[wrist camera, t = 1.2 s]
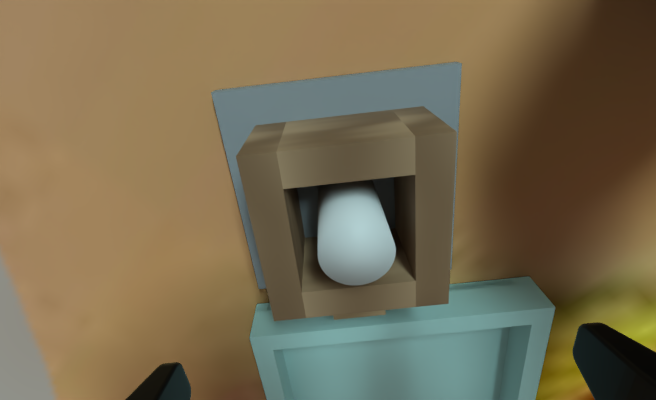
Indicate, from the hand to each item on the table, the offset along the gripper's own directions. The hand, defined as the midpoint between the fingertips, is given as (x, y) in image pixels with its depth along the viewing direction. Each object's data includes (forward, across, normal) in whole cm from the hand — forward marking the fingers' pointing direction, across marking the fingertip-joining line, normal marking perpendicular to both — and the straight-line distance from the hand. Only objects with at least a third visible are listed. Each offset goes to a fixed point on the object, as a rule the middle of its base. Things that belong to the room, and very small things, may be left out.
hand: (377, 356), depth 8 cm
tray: (+10, -2, +14) cm, 17 cm away
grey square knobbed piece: (+10, 0, 0) cm, 10 cm away
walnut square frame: (+9, 0, 0) cm, 9 cm away
